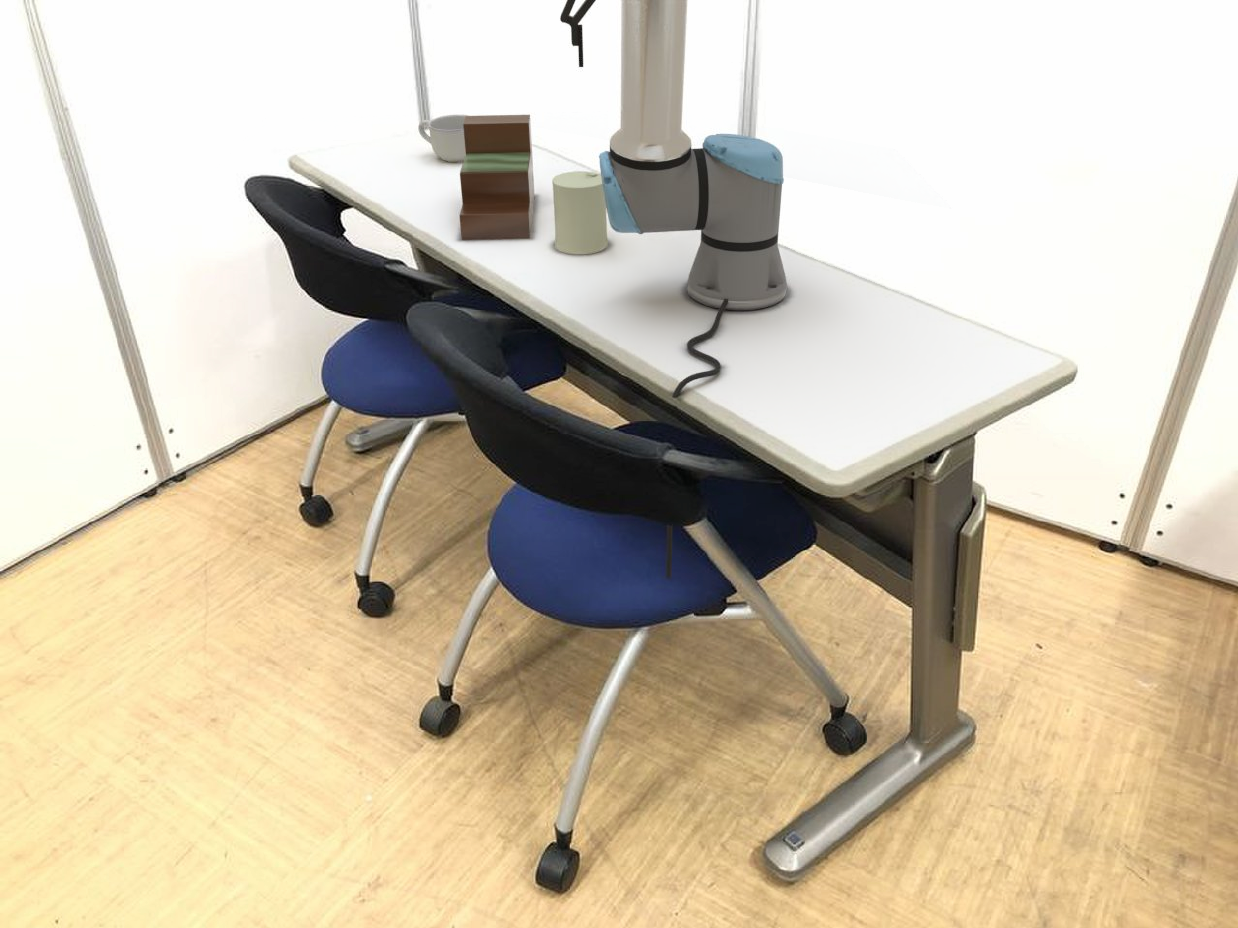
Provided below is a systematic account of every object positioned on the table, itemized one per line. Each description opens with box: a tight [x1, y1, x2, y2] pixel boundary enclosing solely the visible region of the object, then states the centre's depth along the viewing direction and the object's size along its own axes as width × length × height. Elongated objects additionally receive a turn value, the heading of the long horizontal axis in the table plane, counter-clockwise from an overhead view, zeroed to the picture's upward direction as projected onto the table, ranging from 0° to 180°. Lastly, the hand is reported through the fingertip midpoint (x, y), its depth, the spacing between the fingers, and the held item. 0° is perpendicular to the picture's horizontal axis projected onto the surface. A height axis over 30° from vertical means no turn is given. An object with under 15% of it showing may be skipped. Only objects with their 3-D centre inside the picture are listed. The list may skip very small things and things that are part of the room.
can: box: [551, 170, 609, 256], centre depth 178 cm, size 9×9×12 cm
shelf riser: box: [459, 114, 535, 241], centre depth 190 cm, size 24×12×16 cm, turn 2°
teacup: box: [418, 114, 470, 163], centre depth 225 cm, size 14×11×8 cm
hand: (619, 65), depth 183 cm, fingers open, 13 cm apart
